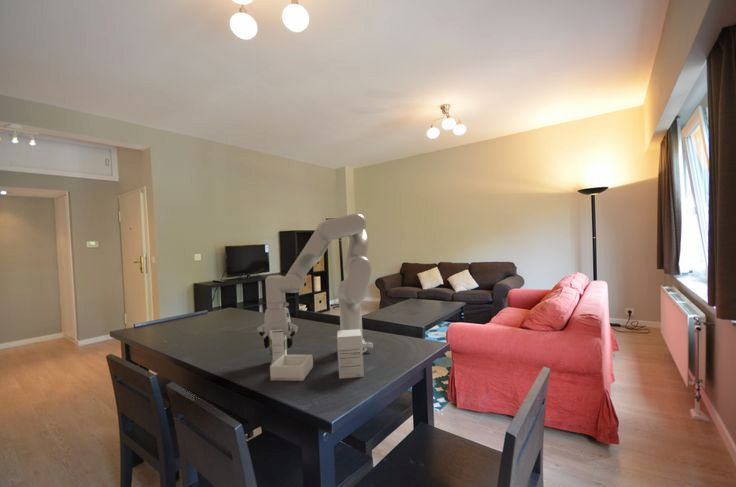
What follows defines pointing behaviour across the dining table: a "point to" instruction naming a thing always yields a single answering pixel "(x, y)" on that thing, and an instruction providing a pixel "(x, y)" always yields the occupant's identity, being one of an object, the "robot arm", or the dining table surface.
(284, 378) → the box
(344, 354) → the supplement box
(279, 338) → the syrup box
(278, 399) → the dining table surface
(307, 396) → the dining table surface
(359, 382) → the dining table surface
